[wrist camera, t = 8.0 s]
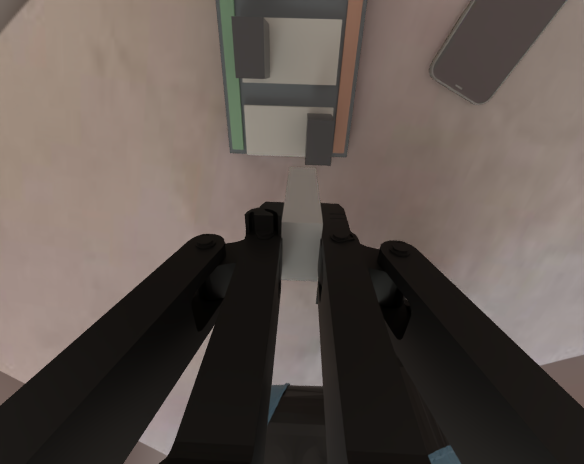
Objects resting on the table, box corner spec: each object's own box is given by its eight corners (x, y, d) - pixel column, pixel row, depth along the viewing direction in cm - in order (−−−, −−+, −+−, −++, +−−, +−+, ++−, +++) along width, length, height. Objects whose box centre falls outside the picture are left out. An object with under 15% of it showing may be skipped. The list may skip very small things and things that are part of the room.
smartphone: (630, -80, 21) (483, 109, 28) (618, -74, 22) (478, 108, 29) (564, -142, 20) (426, 73, 27) (554, -134, 20) (423, 73, 28)
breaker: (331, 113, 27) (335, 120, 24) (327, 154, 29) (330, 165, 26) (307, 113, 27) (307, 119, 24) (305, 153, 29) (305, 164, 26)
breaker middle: (269, 24, 23) (263, 16, 20) (270, 77, 25) (264, 79, 22) (241, 23, 23) (231, 16, 20) (244, 76, 26) (235, 78, 22)
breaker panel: (374, -85, 22) (381, -102, 20) (344, 152, 32) (347, 158, 29) (213, -89, 22) (204, -106, 20) (234, 148, 32) (228, 154, 30)
